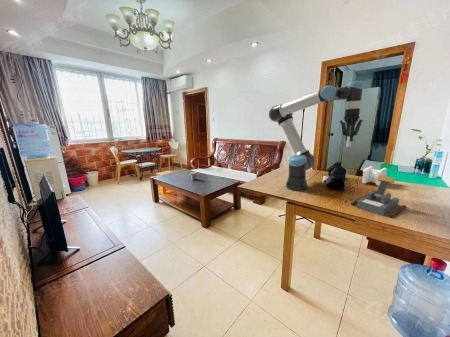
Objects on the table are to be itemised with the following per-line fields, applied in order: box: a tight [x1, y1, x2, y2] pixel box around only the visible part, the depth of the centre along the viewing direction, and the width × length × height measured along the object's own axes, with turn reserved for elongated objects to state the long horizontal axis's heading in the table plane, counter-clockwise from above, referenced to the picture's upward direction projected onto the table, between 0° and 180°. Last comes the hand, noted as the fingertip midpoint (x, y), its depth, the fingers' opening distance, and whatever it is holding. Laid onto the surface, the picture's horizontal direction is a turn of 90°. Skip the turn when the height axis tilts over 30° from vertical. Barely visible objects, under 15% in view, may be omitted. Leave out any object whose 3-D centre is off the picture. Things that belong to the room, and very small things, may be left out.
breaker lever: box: [374, 176, 396, 199], centre depth 104 cm, size 2×7×13 cm
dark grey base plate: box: [350, 194, 407, 219], centre depth 105 cm, size 18×19×1 cm
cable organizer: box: [361, 166, 388, 187], centre depth 139 cm, size 15×11×12 cm
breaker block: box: [356, 189, 400, 216], centre depth 104 cm, size 20×12×8 cm, turn 122°
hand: (348, 146), depth 123 cm, fingers closed
